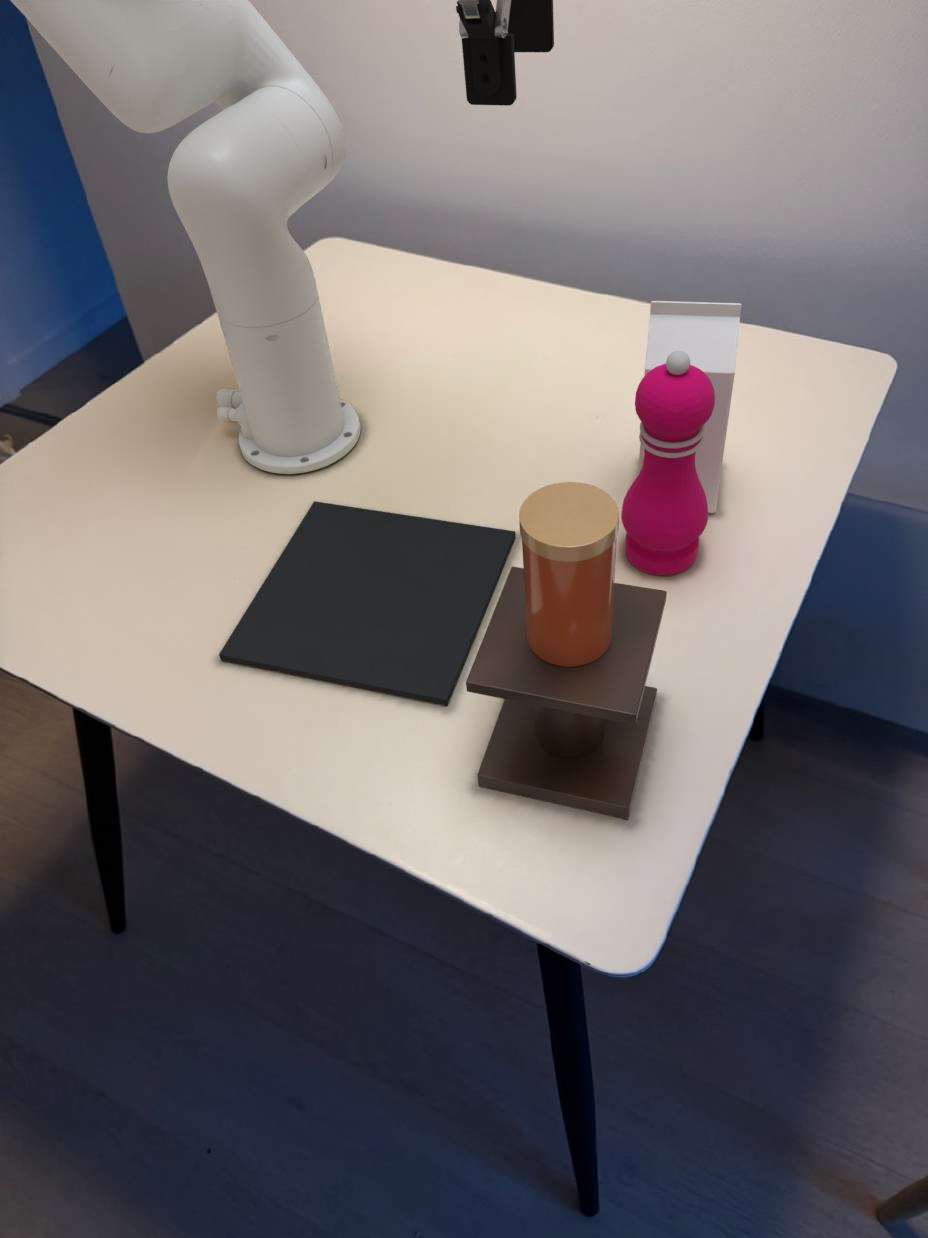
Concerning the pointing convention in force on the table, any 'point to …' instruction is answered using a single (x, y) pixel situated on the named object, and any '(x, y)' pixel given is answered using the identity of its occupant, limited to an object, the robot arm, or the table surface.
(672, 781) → the table surface
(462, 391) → the table surface
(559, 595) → the spice jar
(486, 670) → the stand
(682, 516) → the pepper mill
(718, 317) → the milk carton
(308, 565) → the mat
